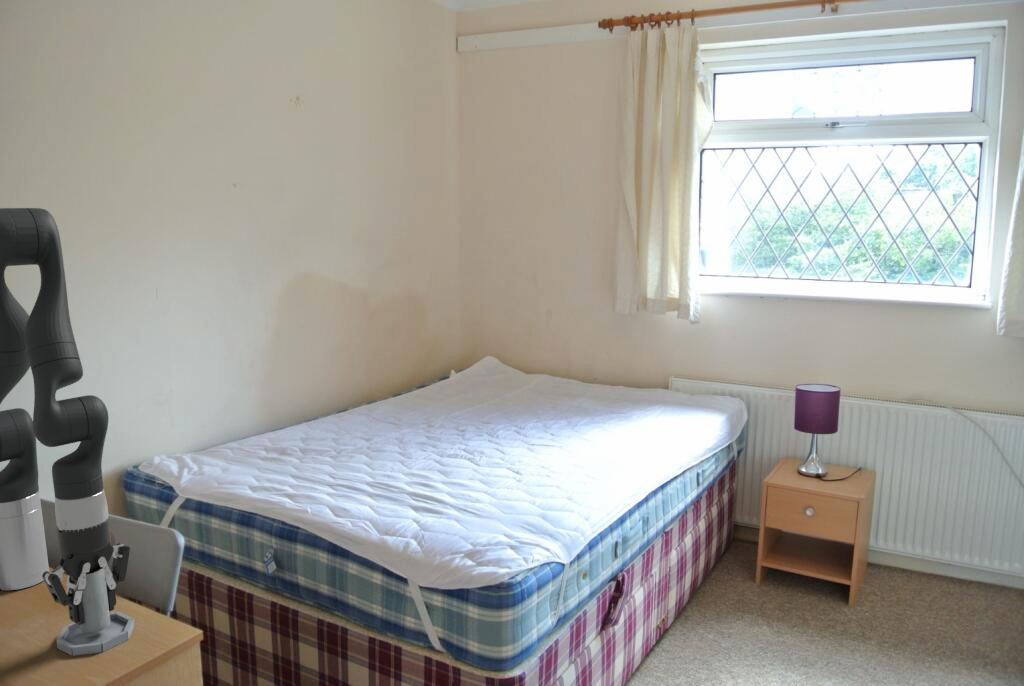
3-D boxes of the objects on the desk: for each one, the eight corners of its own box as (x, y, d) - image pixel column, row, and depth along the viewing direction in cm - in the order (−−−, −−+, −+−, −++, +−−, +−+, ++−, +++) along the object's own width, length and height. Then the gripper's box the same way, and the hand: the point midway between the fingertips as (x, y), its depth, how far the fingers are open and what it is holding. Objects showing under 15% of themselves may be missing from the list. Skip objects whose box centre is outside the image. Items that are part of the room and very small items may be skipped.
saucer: (46, 642, 136) (45, 634, 136) (108, 614, 145) (107, 607, 145) (83, 661, 131) (82, 653, 130) (145, 631, 140) (144, 623, 139)
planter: (116, 619, 140) (109, 562, 138) (100, 633, 135) (93, 574, 133) (90, 618, 140) (84, 561, 138) (74, 632, 136) (67, 574, 134)
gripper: (110, 500, 142) (120, 593, 145) (25, 529, 130) (38, 629, 134) (136, 508, 138) (146, 604, 141) (51, 539, 126) (63, 642, 130)
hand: (93, 615), depth 137 cm, fingers closed on planter, 4 cm apart
